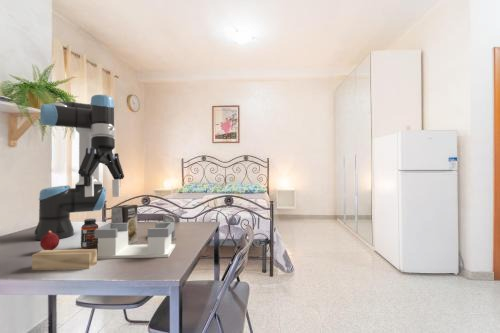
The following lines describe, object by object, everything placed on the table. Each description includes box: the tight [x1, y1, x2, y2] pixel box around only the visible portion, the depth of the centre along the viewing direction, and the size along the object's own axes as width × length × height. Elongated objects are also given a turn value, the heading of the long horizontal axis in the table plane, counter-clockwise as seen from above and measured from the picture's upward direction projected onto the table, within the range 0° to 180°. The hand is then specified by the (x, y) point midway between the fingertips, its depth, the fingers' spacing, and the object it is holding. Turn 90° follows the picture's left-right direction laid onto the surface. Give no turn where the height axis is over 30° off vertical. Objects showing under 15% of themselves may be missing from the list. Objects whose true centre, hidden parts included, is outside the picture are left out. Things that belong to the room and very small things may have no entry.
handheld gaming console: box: [146, 214, 177, 241], centre depth 125 cm, size 13×9×10 cm
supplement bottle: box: [80, 218, 99, 249], centre depth 110 cm, size 6×6×11 cm
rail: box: [31, 248, 98, 271], centre depth 88 cm, size 5×17×5 cm, turn 95°
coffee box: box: [110, 204, 138, 245], centre depth 115 cm, size 9×6×16 cm
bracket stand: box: [95, 221, 176, 260], centre depth 103 cm, size 14×26×10 cm, turn 95°
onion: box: [39, 231, 60, 250], centre depth 103 cm, size 6×6×8 cm
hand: (103, 196), depth 96 cm, fingers open, 13 cm apart
